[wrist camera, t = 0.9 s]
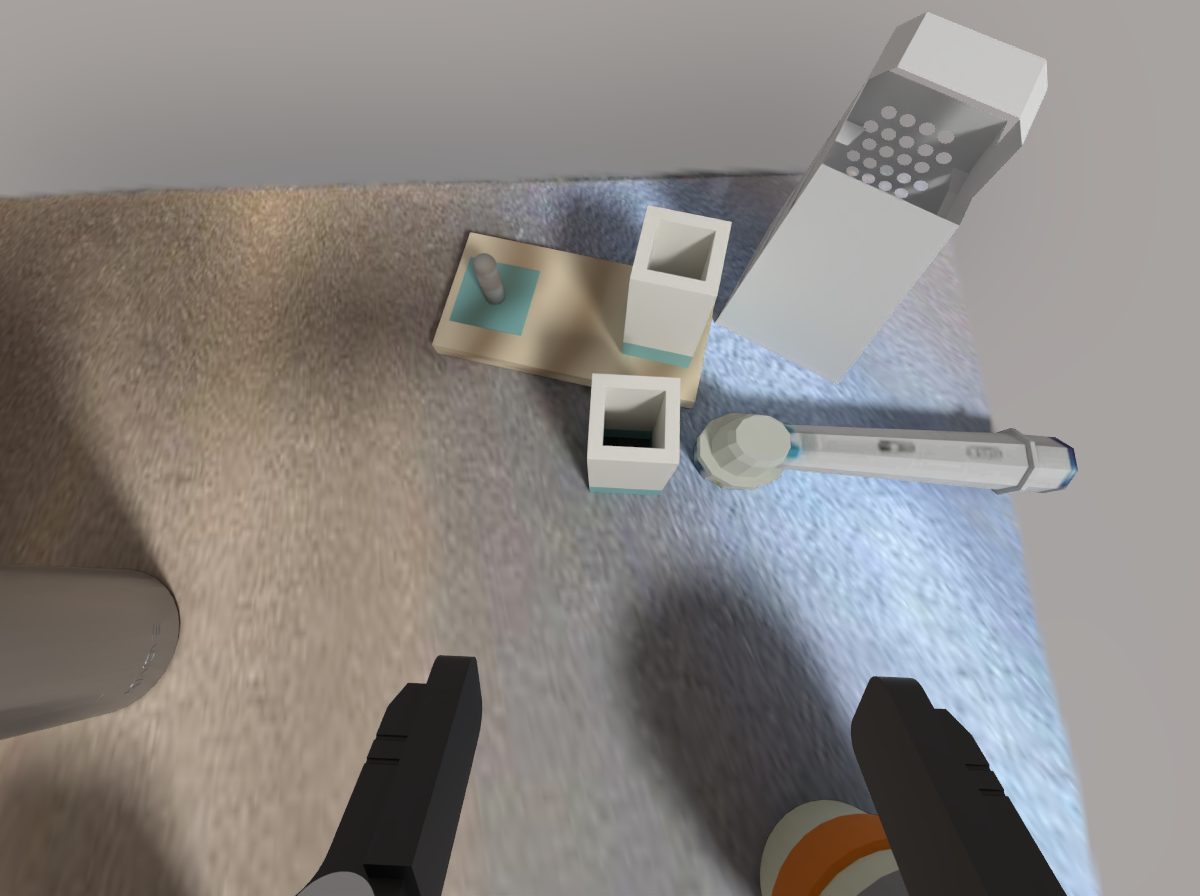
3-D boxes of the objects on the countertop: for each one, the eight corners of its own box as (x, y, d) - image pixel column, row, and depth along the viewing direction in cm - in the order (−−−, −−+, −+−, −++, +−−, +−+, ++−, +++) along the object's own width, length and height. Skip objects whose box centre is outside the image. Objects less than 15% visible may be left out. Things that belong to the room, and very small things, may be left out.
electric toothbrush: (1088, 497, 35) (722, 471, 32) (1000, 510, 41) (688, 490, 38) (1073, 420, 36) (720, 389, 33) (990, 445, 43) (688, 420, 40)
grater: (770, 224, 45) (903, -56, 25) (888, 279, 43) (1123, 29, 24) (714, 323, 42) (813, 98, 23) (837, 385, 41) (1052, 201, 22)
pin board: (437, 353, 41) (410, 312, 35) (474, 243, 44) (454, 188, 38) (691, 409, 40) (708, 376, 34) (714, 293, 43) (733, 244, 37)
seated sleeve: (622, 354, 40) (629, 278, 30) (636, 295, 41) (647, 205, 31) (687, 368, 40) (717, 296, 30) (700, 308, 41) (731, 221, 31)
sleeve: (589, 491, 39) (587, 459, 29) (593, 425, 40) (592, 373, 30) (658, 495, 39) (679, 463, 29) (660, 429, 40) (680, 377, 30)
